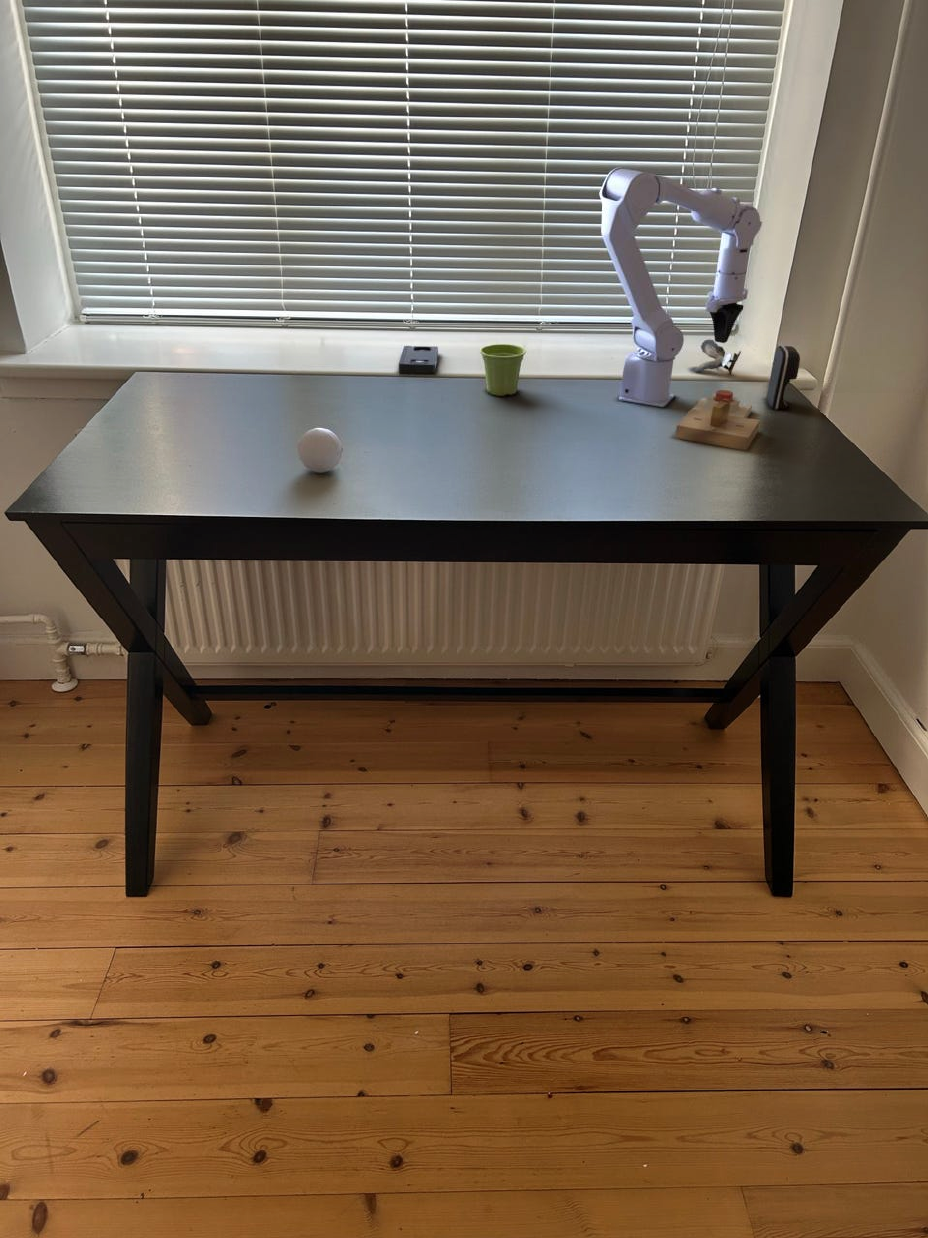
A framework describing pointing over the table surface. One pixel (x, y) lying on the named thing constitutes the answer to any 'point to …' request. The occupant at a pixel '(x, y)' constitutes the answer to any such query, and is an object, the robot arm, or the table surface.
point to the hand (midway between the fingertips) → (720, 341)
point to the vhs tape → (418, 359)
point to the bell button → (723, 395)
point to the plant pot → (502, 367)
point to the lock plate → (717, 430)
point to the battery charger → (782, 375)
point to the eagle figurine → (716, 357)
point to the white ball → (319, 450)
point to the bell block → (734, 409)
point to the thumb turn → (720, 412)
